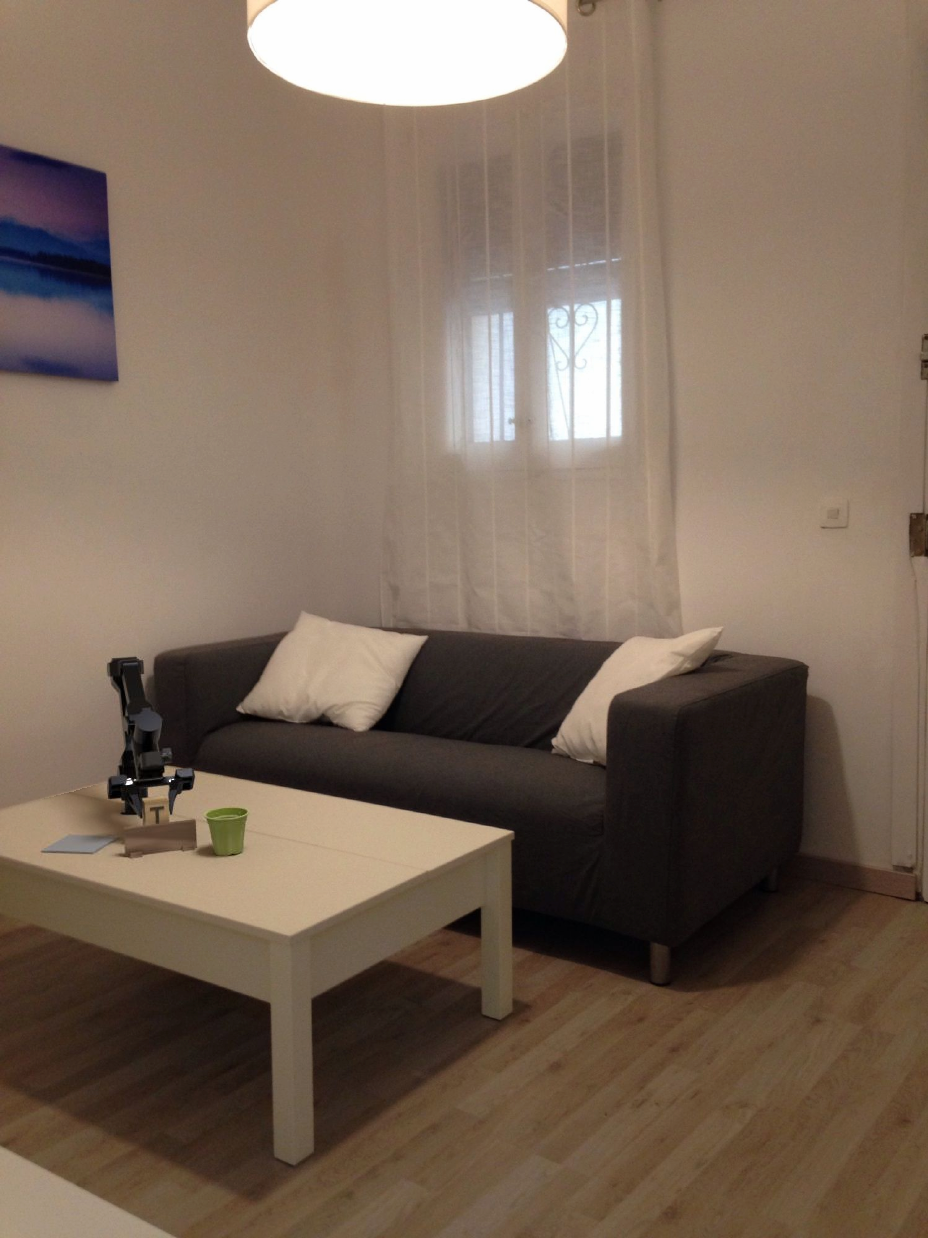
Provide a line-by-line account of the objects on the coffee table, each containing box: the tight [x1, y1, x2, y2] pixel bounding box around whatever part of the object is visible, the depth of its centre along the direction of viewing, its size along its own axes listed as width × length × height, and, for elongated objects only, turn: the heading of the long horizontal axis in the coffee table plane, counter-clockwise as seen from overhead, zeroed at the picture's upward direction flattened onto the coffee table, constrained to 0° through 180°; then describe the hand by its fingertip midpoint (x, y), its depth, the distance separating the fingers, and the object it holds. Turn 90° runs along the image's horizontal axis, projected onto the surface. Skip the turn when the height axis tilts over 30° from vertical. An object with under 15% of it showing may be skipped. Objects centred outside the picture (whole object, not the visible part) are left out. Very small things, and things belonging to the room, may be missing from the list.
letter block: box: [142, 795, 170, 826], centre depth 248 cm, size 5×5×10 cm
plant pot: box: [203, 806, 250, 857], centre depth 241 cm, size 9×9×9 cm
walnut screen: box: [123, 818, 198, 859], centre depth 242 cm, size 4×15×6 cm, turn 114°
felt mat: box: [41, 834, 120, 855], centre depth 248 cm, size 12×12×1 cm
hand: (156, 815), depth 246 cm, fingers open, 6 cm apart
